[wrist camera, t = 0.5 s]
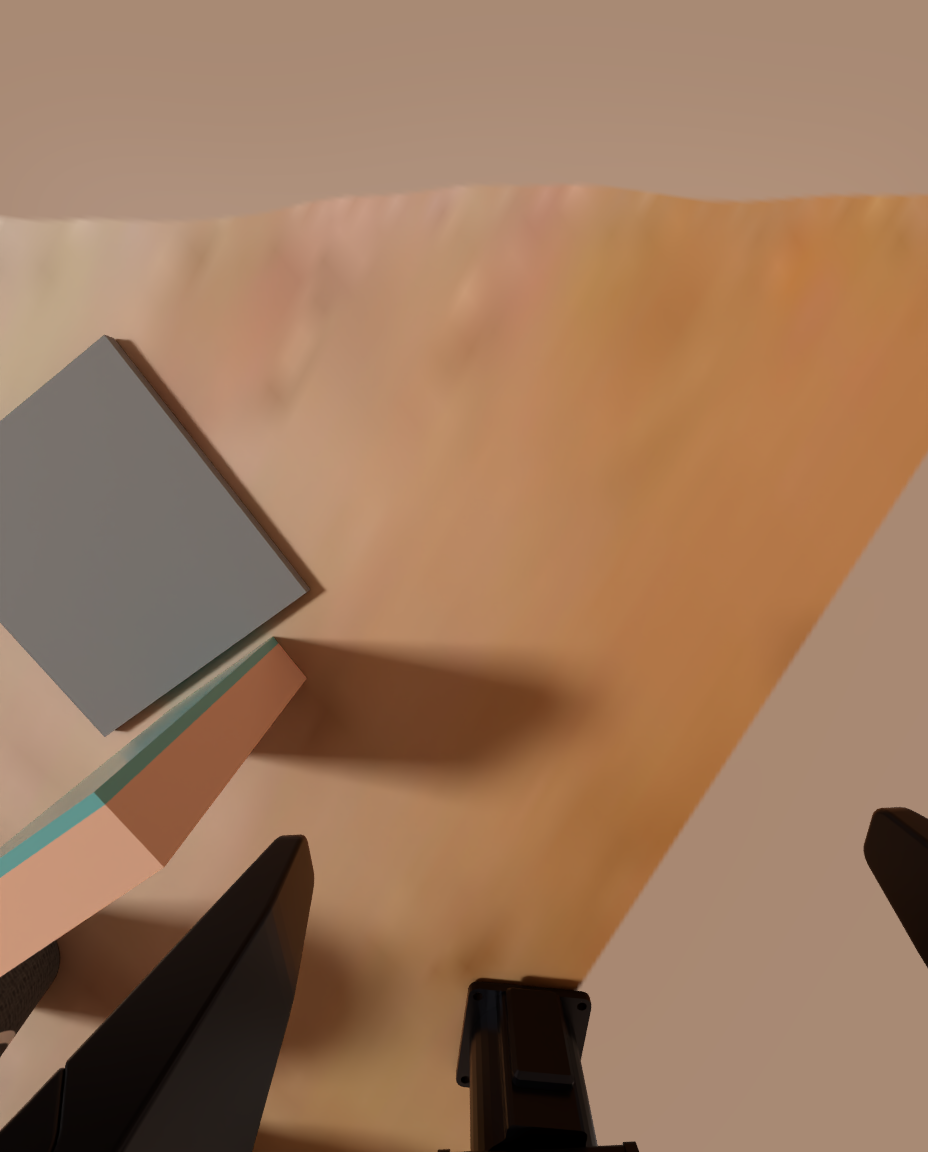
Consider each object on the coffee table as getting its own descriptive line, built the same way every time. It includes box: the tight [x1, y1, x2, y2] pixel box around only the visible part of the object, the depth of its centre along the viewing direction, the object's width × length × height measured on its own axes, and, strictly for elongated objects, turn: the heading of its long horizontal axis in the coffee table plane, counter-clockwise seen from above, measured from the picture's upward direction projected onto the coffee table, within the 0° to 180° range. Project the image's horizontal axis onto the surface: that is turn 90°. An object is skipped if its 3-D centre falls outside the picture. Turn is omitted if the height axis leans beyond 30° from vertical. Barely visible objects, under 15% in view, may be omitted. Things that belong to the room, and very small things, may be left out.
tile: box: [0, 637, 307, 977], centre depth 19 cm, size 2×6×12 cm, turn 125°
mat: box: [0, 335, 310, 737], centre depth 23 cm, size 13×12×1 cm
